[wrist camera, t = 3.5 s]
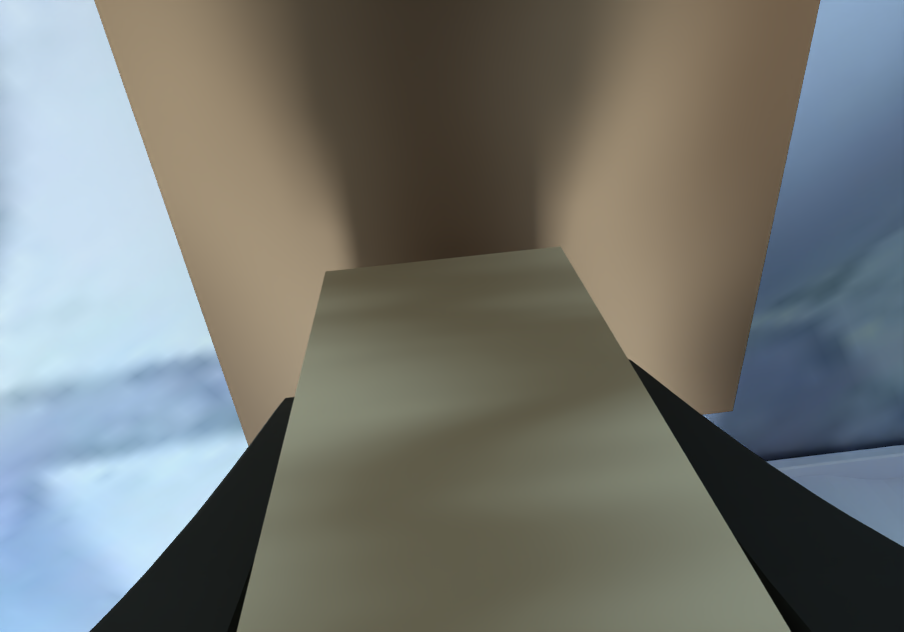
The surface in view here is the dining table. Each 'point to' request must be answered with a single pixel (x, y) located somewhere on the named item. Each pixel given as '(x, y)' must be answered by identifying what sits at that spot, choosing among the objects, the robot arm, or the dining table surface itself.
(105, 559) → the dining table surface
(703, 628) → the beige wooden block
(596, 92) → the plank
